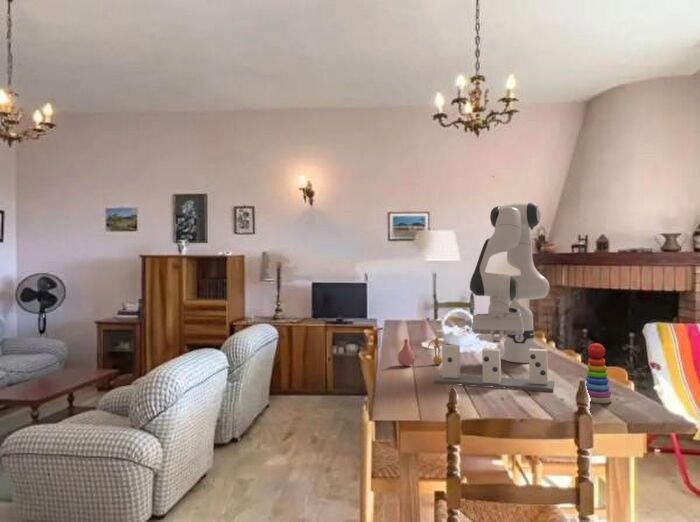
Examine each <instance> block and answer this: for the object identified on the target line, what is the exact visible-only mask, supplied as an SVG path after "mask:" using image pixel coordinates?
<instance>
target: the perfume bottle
mask: <svg viewBox="0 0 700 522" xmlns="http://www.w3.org/2000/svg"><path fill="white" fill-rule="evenodd" d="M403 341H404V343H403V347H402V349H401V350H400V351H399V352H398V354H397V355H398V356H397V360H398V364H399V365H400V366H401V365H402V366H403V367H404V366H409V367H410V366H411V365H414V363H415V359H416V356H415V353H414V351H413V350H411V348H410V346H409V343H408V338H404V339H403Z"/></svg>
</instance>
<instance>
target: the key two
mask: <svg viewBox="0 0 700 522" xmlns="http://www.w3.org/2000/svg"><path fill="white" fill-rule="evenodd" d="M501 352H502V351H501V348H485V347H484V348H483V349H482V350H481V358H482V361H481V363H482V376H483V383H496V384H500V383H501V377H502V363H501V360H502V359H501V356H502V355H501Z"/></svg>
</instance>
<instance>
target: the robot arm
mask: <svg viewBox="0 0 700 522" xmlns="http://www.w3.org/2000/svg"><path fill="white" fill-rule="evenodd" d="M489 215H490V216H489V219H490V223H491V226H492V227H493V228H494V231H493V234H492V235H491V236H490V237H489V238H486V240H485V241H484V243H483V245H482V248H481V251H480V254H479V257H478V260H477V262H476V266H475V269H474V271H473V274H471V278H470V280H469V290H470V291H471V293H472V294H473V295H475V296H477V297H489V305H488V309H487V310H488V312H487V313H476V314H475V315H473V317H472V324H471V330H472V333H473V334H474V335H475V334H476V335H477V334H478V335H490V337H491V339H492V341H491V342H492V343H498V344H499V343H501V340H502V339H503V338H504V337H505V335H506V336H507V337H506V339H505V341H503V355H501V360H502V361H506V362H511V363H523V364H529V349H539V343H538V342H537V340H536V339H535V336H536V335H535V334H536V331H535V329H534V314H533V312H532V311H531V309H529V308H528V307H526V306H523V305H522V304H521V303H520V301H519V300H539V299H544V298H546V297H547V296H548V294H549V292H550V282H549V281H548V279H547V278H546V277H545V276H543V275H542V274H541V273H540V272H539V270H538V269H537V268H536V266H535V264H534V263H535V262H534V259H533V257H534V256H533V238H532V230H534V228H535V227H537V226H538V225H539V223H540V220H541V217H542V216H541V215H542V212H541V209H540V206H539V205H538V204H537V203H534V202H527V203H524V202H523V203H513V204H505V205H502V206H501V205H498V206H495V207H493V209H491V211H490V214H489ZM505 252H506V260H507V263H508V264H509V266H511V267H513V268H514V269H517V270H519V271H520V274H518V275H516V274H515V275H513V274H511V275H510V274H505V273H494V272H486V269H487V265H488V263H489V260H490V258H491V257H492V256H494V255H498V254H501V253H505ZM495 335H498V336H495Z"/></svg>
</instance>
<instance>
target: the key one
mask: <svg viewBox="0 0 700 522" xmlns="http://www.w3.org/2000/svg"><path fill="white" fill-rule="evenodd" d="M460 347H461V346H460V345H456V344H445V345H444V344H443V345H442V346H441V358H442V363H441V364H442V367H441V369H442V374H443V377H445V378H459V377H460V375H461V352H460V350H461V349H460Z"/></svg>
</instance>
